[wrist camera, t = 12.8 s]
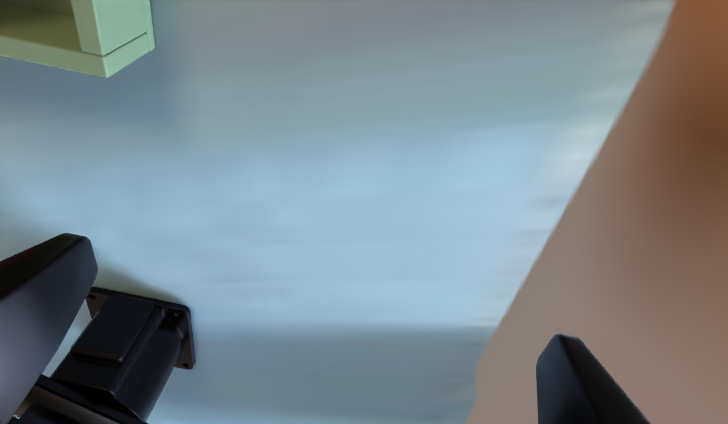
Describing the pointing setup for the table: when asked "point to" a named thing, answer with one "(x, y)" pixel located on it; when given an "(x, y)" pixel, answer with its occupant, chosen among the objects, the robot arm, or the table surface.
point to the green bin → (77, 33)
